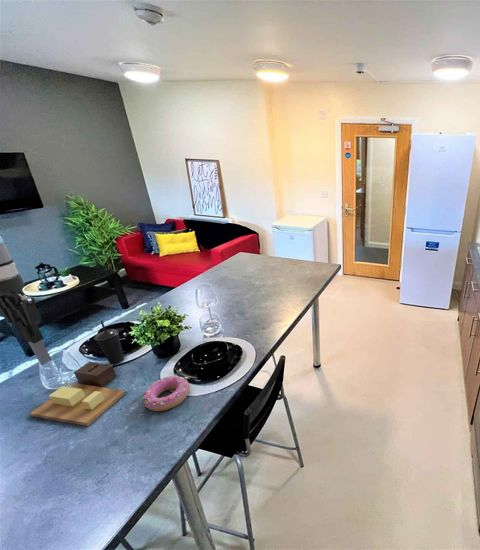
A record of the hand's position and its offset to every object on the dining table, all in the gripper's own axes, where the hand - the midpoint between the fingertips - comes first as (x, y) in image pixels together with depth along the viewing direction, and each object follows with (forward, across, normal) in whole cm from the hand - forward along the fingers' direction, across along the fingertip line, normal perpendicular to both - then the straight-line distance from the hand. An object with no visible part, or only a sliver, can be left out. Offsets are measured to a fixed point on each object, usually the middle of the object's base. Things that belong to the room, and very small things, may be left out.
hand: (34, 340), depth 97 cm
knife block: (+24, -6, -8) cm, 26 cm away
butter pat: (+23, -18, +3) cm, 29 cm away
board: (+24, -11, +3) cm, 27 cm away
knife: (+10, 0, 0) cm, 10 cm away
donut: (+25, -39, -5) cm, 46 cm away
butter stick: (+23, -7, +3) cm, 24 cm away
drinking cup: (+25, -3, -19) cm, 31 cm away
